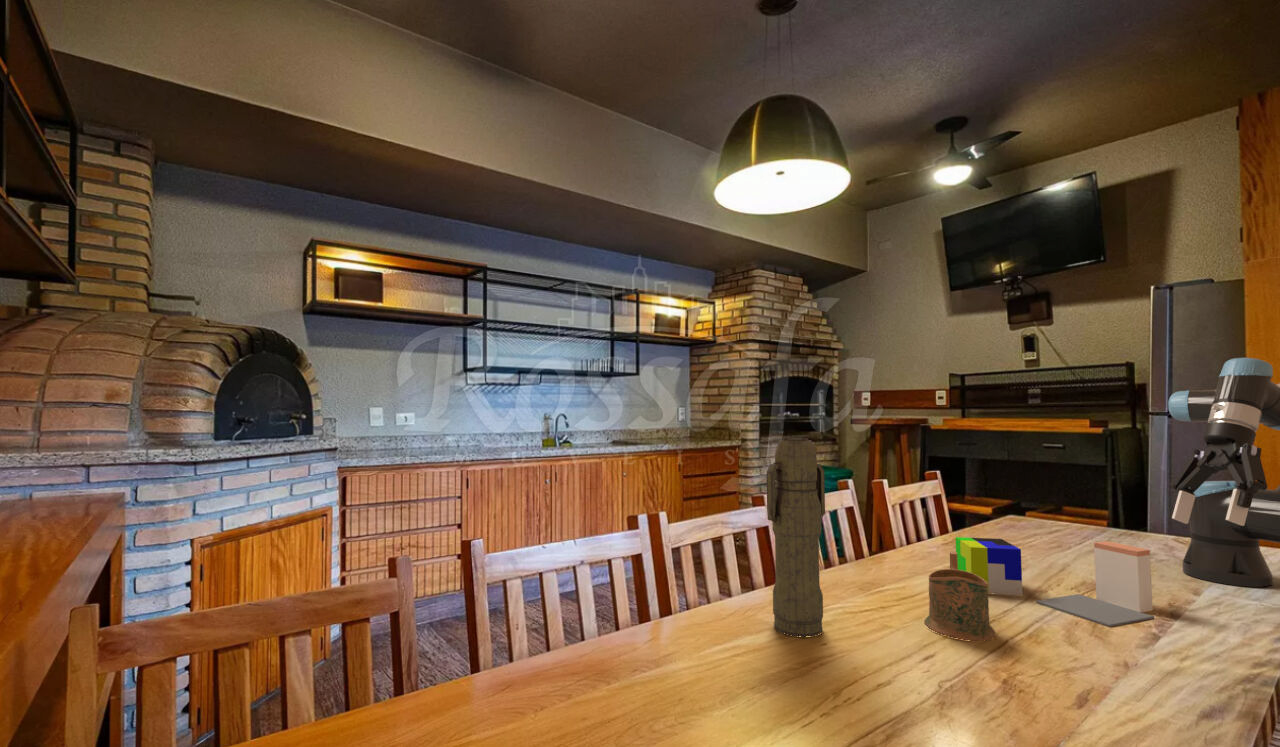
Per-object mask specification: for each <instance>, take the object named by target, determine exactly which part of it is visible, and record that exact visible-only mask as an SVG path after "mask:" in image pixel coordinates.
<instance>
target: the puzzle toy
mask: <svg viewBox="0 0 1280 747" xmlns="http://www.w3.org/2000/svg"><path fill="white" fill-rule="evenodd" d="M955 552H957V559H958V570H962V571H966V572H970V573H973V574H975V575H977V576H979V577H981V578H982V579H983V580H985V581H986V582H987V583H988V593H994V594H993V595H998V594H1009V595H1008V596H1015V595H1023V571H1022V570H1023V569H1022V568H1023V567H1022V549H1021V548H1019V547H1017V546H1015V545H1013V544H1011V543H1010V542H1008V541H1006V540H1005V539H1003V538H987V537H986V538H984V537H963V536H959V537H958V536H955Z"/></svg>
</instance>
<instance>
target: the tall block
mask: <svg viewBox="0 0 1280 747" xmlns="http://www.w3.org/2000/svg"><path fill="white" fill-rule="evenodd" d="M1093 545H1094V547H1093V548H1094V549H1093V551H1094V569H1095V570H1094V572H1095V594H1096V596H1095V597H1096V598H1095V599H1097V600H1100V601H1104V602H1107V603H1111V604H1114V605H1118V606H1121V607H1124V608H1128V609H1131V610H1135V611H1138V612H1141V613H1146V612H1152V611H1153V610H1154V607H1153V606H1154V605H1153V590H1152V589H1153V588H1152V587H1153V586H1152V566H1151V549H1146V548H1143V547H1142V548H1141V547H1138V546H1137V547H1136V546H1131V545H1128V544H1124V543H1123V544H1122V543H1117V542H1112V541H1108V540H1106V541H1097V542H1094V543H1093Z"/></svg>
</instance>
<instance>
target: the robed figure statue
mask: <svg viewBox="0 0 1280 747" xmlns="http://www.w3.org/2000/svg"><path fill="white" fill-rule="evenodd" d="M825 485H826V483H825V469H824V467H823V466H822V464H820V463H818V457H817V451H816V449H815V446H814V442H813V441H812V440H809V438H806V437H783V438H782V439H780V440H778V443H777V444H776V448H775V452H774V462H773V463H771V464H769V467H768V468H767V470H766V512H767V520H768V521H771V522H772V523H771V524H772V532H773V534H774V548H775V549H774V551H775V552H774V554H775V555H774V557H775V561H774V563H775V565H774V566H775V582H774V585H773V589H772V612H773V615H774V616H773V618H774V622H773V627H775V628H776V629H777V630H778V631H780V632H782V633H785V634H788V635H792V636H798V637H797V638H799V636H801V637H806V636H815V635H818V634H820V633H821V632H822V633H823V618H824V597H823V596H824V595H823V592H822V589H821V586H820V540H819V539H820V537H821V534H822V518H823V517H824V515H826V493H825V492H826V489H825V488H826V487H825ZM775 628H774V629H775ZM776 629H775V630H776ZM777 630H776V631H777ZM778 631H777V632H778ZM780 632H779V633H780ZM782 633H781V634H782ZM822 633H821V634H822ZM821 634H820V635H821ZM788 635H787V636H788ZM792 636H791V637H792ZM818 636H819V635H818ZM815 637H816V636H815Z"/></svg>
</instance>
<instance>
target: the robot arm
mask: <svg viewBox="0 0 1280 747" xmlns="http://www.w3.org/2000/svg"><path fill="white" fill-rule="evenodd" d="M1273 370H1274V369H1273V366H1272V364H1270V363H1269V362H1268V361H1265V360H1262V359H1259V358H1252V357H1235V358H1230V359H1229V360H1227V361H1225V362H1224V363H1223V366H1222V369H1221V372H1220V374H1219V375H1218V382H1217V386H1216V389H1202V390H1200V389H1199V390H1191V389H1189V390H1180V391H1179V390H1178V391H1175V392H1174V393H1172V394H1171V396H1170V397H1169V399H1168V403H1167V405H1168V412H1169V413H1170V415H1171V417H1172V418H1173V419H1174V420H1177V421H1179V422H1190V423H1195V422H1197V423H1208V424H1206V425H1205V428H1204V431H1203V436H1202V440H1203V442H1204V443H1206V445H1207V446H1206V448H1205V450H1199V449H1197V448H1195V449H1194V448H1193V450H1192V452H1191V454H1190V457H1189V459H1188V460H1187V461H1186V463H1185V465H1184V467H1182V469H1181V470H1180V473H1178V475H1177V477H1176V478H1175V479H1174V480H1173V482H1172V484H1171V486H1170V487H1171V489H1173V490H1176V491H1177V492H1178V493H1177V496H1176V500H1175V502H1174V503H1175V506H1174V510H1173V512H1172V516H1171V519H1173V520H1175V521H1177V522H1180V523H1183V524H1186V525H1188V524H1189V528H1190V529H1189V530H1190V531H1189V532H1190V542H1189V545H1188V548H1187V550H1186V553H1185V555H1184V558H1183V560H1182V572H1183V573H1184V574H1186V575H1187V576H1190V577H1193V578H1197V579H1200V580H1203V581H1208V582H1209V581H1210V582H1213V583H1219V584H1224V585H1231V586H1240V587H1248V588H1251V587H1252V588H1264V587H1263V586H1269V585H1272V584H1273V585H1274V581H1273V580H1274V578H1273V577H1274V576H1273V574H1272V571H1271V570H1270V568H1269V565H1268V563H1267V562H1266V560H1265V557H1264V555H1263V553H1262V551H1261V547H1260V545H1261V544H1260V541H1265V542H1269V543H1270V542H1271V543H1276V544H1280V484H1279V485H1278V486H1277V487H1276V488H1275V489H1269V488H1268V483H1267V480H1266V476H1265V471H1264V466H1263V463H1262V459H1261V454H1262V448H1261V447H1258V446H1255V445H1254V444H1255V440H1256V437H1257V433H1256V432H1257V431H1259V430H1258V429H1259V426H1260V424H1262V425H1263V426H1264V427H1265V426H1266V427H1267V428H1270V429H1271V430H1272V429H1273V430H1275V431H1280V383H1277V384H1276V383H1275V382H1273V381H1272V378H1273V375H1274V373H1273ZM1225 470H1228V471H1229V473H1230V475H1231V477H1232V479H1233V480H1208V479H1209V478H1210V477H1211V476H1212V475H1214V474H1217V473H1218V472H1219V471H1220V472H1221V471H1225ZM1207 480H1208V481H1207ZM1273 585H1272V586H1273ZM1269 587H1270V586H1269Z"/></svg>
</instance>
